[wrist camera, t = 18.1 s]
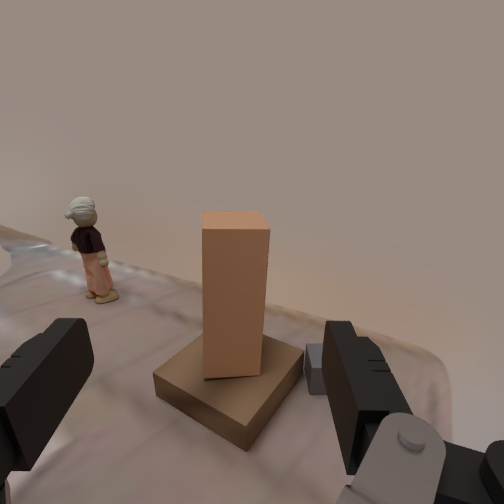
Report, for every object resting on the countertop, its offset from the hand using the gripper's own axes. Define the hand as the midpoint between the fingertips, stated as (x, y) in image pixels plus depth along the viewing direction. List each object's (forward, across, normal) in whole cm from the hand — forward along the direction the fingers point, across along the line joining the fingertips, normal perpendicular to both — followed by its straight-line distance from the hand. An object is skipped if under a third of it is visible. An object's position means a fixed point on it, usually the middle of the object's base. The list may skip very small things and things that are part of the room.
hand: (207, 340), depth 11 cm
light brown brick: (+13, 0, -12) cm, 18 cm away
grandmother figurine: (+28, -18, -15) cm, 36 cm away
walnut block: (+13, 0, -15) cm, 20 cm away
